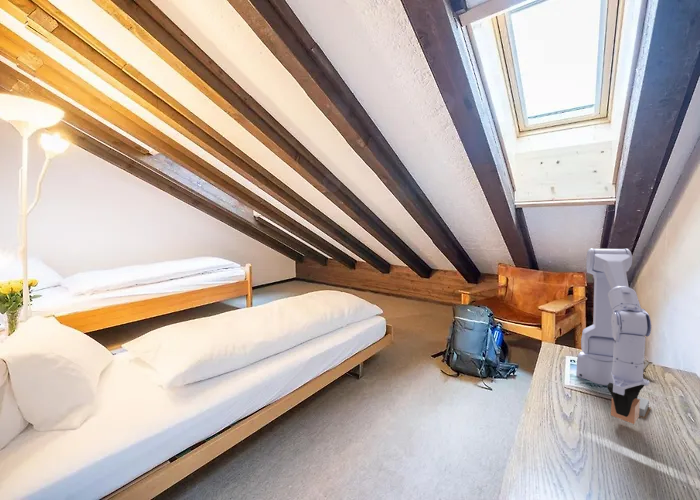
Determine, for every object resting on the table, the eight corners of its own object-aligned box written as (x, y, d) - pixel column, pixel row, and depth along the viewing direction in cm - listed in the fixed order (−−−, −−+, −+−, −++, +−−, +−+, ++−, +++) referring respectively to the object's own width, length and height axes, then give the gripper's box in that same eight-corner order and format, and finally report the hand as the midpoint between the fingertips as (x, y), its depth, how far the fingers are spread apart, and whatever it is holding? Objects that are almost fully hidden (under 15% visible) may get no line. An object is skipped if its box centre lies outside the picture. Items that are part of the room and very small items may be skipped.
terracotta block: (610, 415, 80) (611, 398, 79) (616, 408, 83) (617, 392, 82) (634, 424, 76) (635, 406, 76) (638, 416, 79) (640, 399, 79)
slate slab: (612, 406, 88) (613, 399, 88) (618, 397, 92) (619, 390, 91) (643, 416, 83) (644, 409, 83) (648, 406, 87) (649, 400, 86)
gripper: (642, 374, 70) (638, 431, 72) (657, 355, 79) (653, 406, 80) (603, 363, 76) (600, 416, 78) (620, 346, 85) (618, 394, 86)
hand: (625, 410), depth 79 cm, fingers closed on terracotta block, 4 cm apart
